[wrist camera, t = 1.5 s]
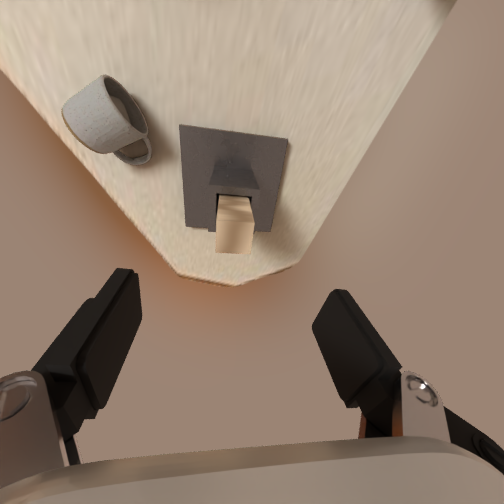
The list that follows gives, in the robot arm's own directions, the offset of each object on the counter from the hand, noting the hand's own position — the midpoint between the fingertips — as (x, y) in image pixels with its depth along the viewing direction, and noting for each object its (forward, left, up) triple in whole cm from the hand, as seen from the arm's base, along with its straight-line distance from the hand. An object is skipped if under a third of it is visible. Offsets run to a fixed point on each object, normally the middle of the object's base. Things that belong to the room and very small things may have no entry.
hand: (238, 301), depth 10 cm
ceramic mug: (+17, -4, -34) cm, 38 cm away
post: (0, +3, -31) cm, 31 cm away
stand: (0, +3, -33) cm, 34 cm away
